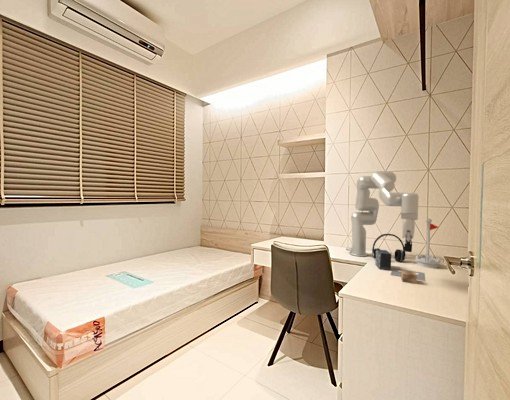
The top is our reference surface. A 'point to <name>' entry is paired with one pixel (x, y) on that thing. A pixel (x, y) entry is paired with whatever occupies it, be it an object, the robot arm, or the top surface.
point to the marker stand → (426, 259)
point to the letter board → (398, 271)
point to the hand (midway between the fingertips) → (408, 250)
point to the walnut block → (408, 277)
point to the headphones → (398, 253)
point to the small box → (383, 260)
